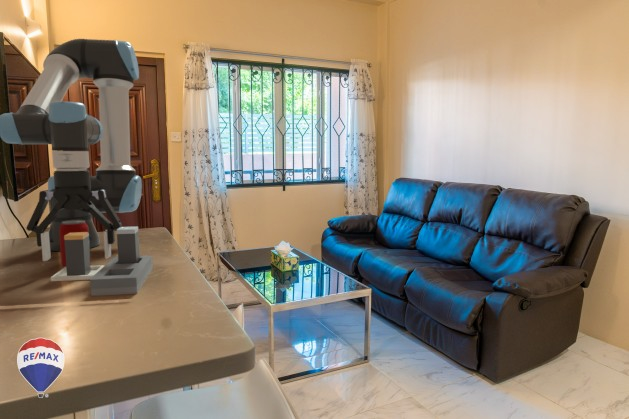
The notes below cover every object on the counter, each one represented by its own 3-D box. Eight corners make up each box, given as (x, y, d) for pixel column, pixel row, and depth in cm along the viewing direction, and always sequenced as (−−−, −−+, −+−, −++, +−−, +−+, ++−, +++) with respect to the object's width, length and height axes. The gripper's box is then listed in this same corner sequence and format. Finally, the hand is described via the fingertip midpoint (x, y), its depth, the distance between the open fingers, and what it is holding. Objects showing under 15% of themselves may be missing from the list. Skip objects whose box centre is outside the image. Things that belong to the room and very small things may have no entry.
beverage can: (78, 270, 112) (75, 223, 111) (55, 268, 114) (52, 222, 112) (96, 263, 119) (93, 219, 117) (74, 262, 120) (71, 218, 118)
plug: (73, 272, 108) (70, 232, 106) (90, 271, 108) (87, 232, 107) (67, 277, 104) (64, 235, 102) (85, 276, 105) (82, 235, 103)
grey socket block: (115, 272, 111) (114, 256, 110) (153, 270, 112) (152, 255, 112) (91, 298, 91) (90, 279, 91) (137, 295, 93) (136, 277, 92)
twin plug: (122, 267, 108) (120, 226, 106) (140, 266, 109) (138, 226, 107) (118, 271, 104) (116, 229, 103) (136, 270, 105) (134, 229, 103)
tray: (65, 272, 110) (65, 266, 110) (104, 271, 112) (104, 265, 111) (50, 283, 101) (50, 277, 101) (94, 281, 103) (93, 275, 102)
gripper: (4, 170, 97) (12, 264, 100) (124, 170, 101) (129, 259, 104) (20, 169, 104) (27, 256, 107) (131, 168, 109) (136, 252, 112)
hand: (77, 258), depth 106 cm, fingers open, 13 cm apart
